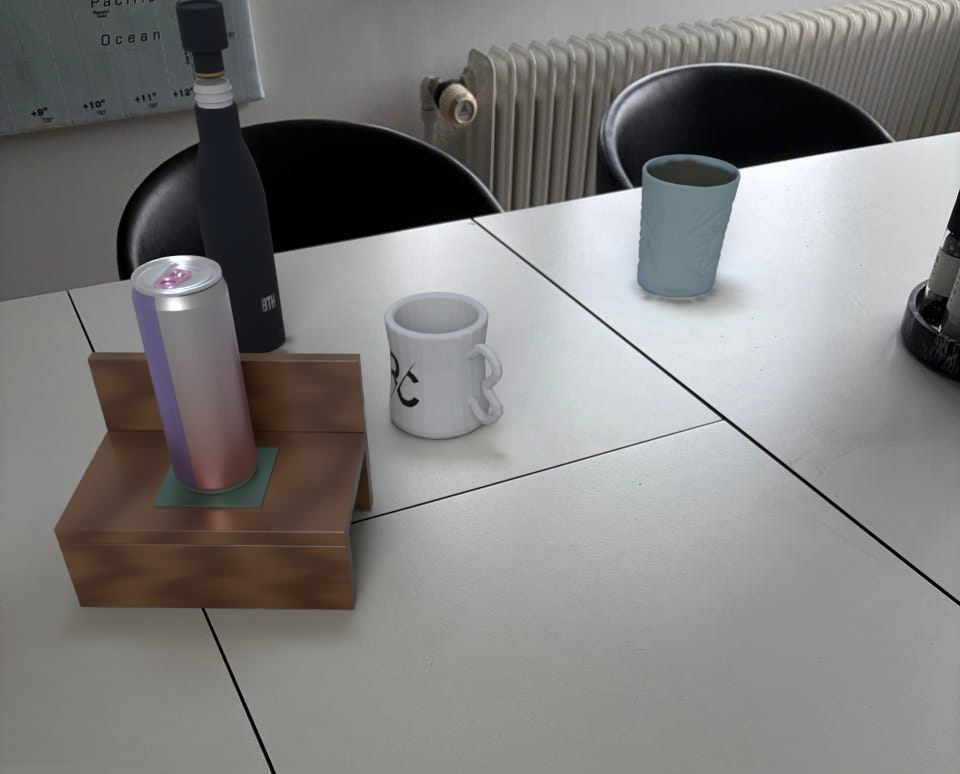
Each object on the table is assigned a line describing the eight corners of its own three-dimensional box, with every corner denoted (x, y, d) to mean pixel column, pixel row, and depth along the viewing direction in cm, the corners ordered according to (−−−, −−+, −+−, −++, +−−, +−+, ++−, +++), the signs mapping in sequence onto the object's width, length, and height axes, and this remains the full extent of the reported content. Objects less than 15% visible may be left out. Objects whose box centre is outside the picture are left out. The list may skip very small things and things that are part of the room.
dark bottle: (229, 325, 109) (170, -5, 89) (290, 326, 109) (244, -5, 88) (216, 354, 104) (150, 12, 84) (279, 355, 104) (228, 12, 84)
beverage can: (160, 489, 74) (108, 286, 64) (201, 446, 78) (158, 249, 68) (235, 504, 73) (195, 298, 63) (273, 459, 77) (240, 259, 67)
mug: (369, 417, 95) (360, 313, 88) (441, 382, 100) (438, 281, 93) (464, 469, 89) (462, 362, 82) (536, 429, 93) (540, 325, 87)
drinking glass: (621, 266, 120) (631, 156, 112) (705, 259, 121) (720, 150, 113) (647, 304, 112) (660, 189, 104) (736, 296, 114) (755, 182, 105)
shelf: (80, 607, 76) (26, 454, 67) (132, 496, 86) (91, 351, 77) (353, 610, 75) (336, 456, 66) (373, 498, 86) (360, 353, 77)
